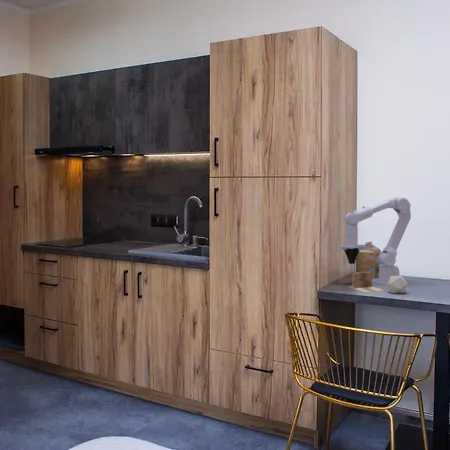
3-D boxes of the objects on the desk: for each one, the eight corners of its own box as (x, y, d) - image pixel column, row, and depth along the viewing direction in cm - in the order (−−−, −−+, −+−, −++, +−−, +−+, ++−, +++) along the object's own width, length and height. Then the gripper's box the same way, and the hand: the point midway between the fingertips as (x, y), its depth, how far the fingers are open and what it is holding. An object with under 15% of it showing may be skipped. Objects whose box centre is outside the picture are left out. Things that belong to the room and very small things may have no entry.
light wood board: (368, 285, 269) (368, 284, 269) (387, 290, 254) (387, 290, 254) (347, 286, 265) (347, 286, 265) (365, 292, 250) (365, 292, 250)
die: (404, 296, 242) (413, 278, 245) (386, 287, 244) (395, 269, 246) (398, 299, 250) (407, 282, 253) (381, 290, 251) (390, 273, 254)
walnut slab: (369, 286, 266) (369, 271, 265) (371, 286, 264) (371, 272, 263) (352, 287, 263) (352, 272, 263) (355, 287, 261) (355, 273, 260)
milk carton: (374, 278, 289) (374, 243, 288) (355, 277, 295) (355, 242, 294) (380, 276, 298) (381, 241, 297) (362, 274, 304) (362, 241, 302)
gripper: (360, 235, 277) (360, 261, 278) (335, 236, 273) (334, 263, 274) (367, 236, 271) (367, 263, 272) (342, 237, 266) (341, 265, 267)
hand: (351, 263), depth 272 cm, fingers closed
